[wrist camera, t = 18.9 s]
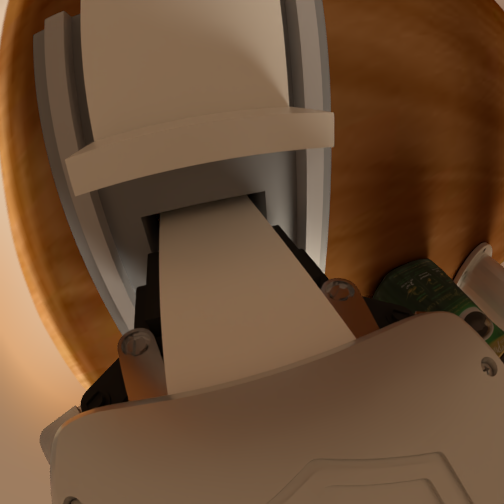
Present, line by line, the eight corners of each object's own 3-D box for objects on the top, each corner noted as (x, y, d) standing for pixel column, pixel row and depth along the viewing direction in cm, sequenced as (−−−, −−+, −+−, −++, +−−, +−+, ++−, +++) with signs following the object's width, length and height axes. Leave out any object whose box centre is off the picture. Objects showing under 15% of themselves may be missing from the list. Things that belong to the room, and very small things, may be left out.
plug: (246, 252, 16) (376, 497, 5) (177, 268, 16) (242, 545, 4) (239, 185, 14) (446, 473, 2) (160, 202, 13) (212, 570, 2)
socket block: (290, 278, 22) (325, 331, 17) (142, 314, 19) (143, 379, 14) (278, 17, 11) (333, -12, 6) (70, 50, 9) (22, 31, 4)
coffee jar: (360, 323, 29) (449, 449, 14) (375, 269, 25) (500, 412, 10) (416, 298, 31) (500, 396, 16) (433, 248, 27) (541, 351, 11)
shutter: (282, 129, 10) (334, 147, 7) (105, 162, 9) (75, 196, 6) (268, -23, 6) (313, -61, 3) (86, 1, 5) (54, -36, 2)
